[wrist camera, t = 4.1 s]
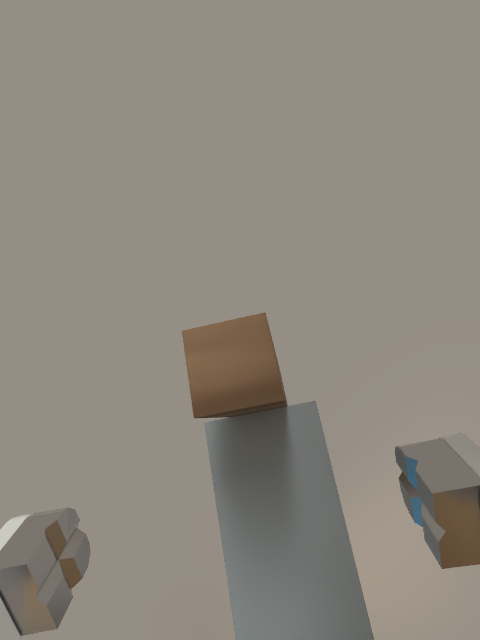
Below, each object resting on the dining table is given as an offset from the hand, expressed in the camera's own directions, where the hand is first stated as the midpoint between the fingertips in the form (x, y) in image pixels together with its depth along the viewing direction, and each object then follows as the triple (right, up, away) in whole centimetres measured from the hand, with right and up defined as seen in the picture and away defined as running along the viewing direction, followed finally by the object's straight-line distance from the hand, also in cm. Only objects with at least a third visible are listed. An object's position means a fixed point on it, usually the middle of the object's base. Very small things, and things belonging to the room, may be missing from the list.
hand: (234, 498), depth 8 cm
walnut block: (+2, -2, +14) cm, 14 cm away
